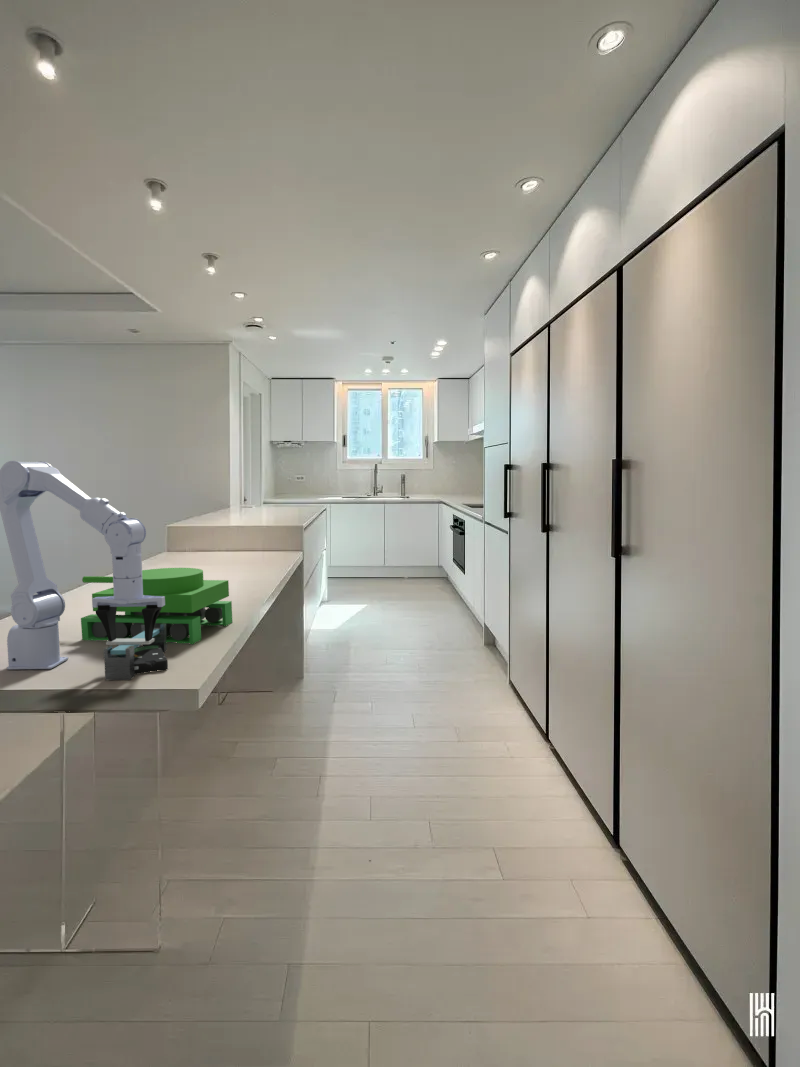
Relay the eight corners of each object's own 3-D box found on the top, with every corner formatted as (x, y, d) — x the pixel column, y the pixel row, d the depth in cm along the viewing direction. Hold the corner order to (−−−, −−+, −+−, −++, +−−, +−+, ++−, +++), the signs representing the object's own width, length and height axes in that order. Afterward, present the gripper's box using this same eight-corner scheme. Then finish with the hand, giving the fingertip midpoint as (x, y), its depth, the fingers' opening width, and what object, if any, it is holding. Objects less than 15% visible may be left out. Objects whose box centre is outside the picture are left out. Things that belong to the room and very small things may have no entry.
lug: (104, 680, 134) (103, 648, 133) (109, 676, 136) (108, 645, 135) (130, 679, 134) (129, 648, 133) (135, 676, 136) (134, 645, 136)
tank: (118, 621, 191) (114, 565, 189) (233, 623, 185) (231, 565, 184) (62, 642, 167) (58, 578, 165) (193, 645, 161) (189, 579, 160)
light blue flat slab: (95, 655, 134) (95, 647, 134) (135, 632, 155) (135, 625, 155) (140, 655, 134) (140, 647, 134) (174, 632, 155) (174, 625, 155)
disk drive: (169, 672, 141) (159, 654, 154) (168, 659, 140) (159, 642, 154) (116, 679, 136) (110, 660, 149) (115, 666, 136) (110, 648, 149)
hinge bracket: (142, 652, 154) (141, 624, 153) (144, 650, 156) (143, 623, 155) (164, 652, 154) (163, 624, 153) (167, 650, 156) (166, 622, 155)
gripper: (84, 580, 135) (87, 645, 136) (155, 579, 135) (158, 644, 136) (99, 574, 142) (102, 637, 143) (167, 574, 142) (169, 636, 143)
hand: (130, 640), depth 140 cm, fingers open, 7 cm apart
